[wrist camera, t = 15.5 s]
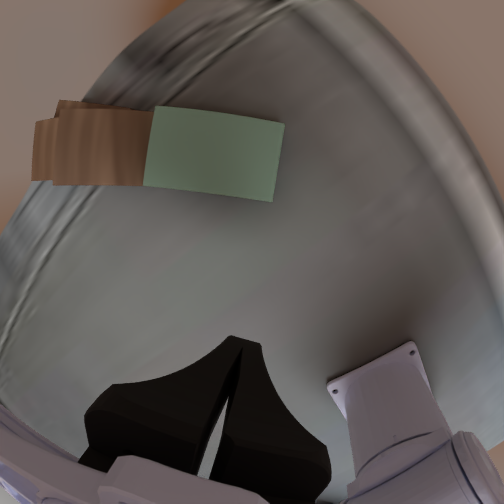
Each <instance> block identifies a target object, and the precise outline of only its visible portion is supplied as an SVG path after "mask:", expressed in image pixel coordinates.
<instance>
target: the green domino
mask: <svg viewBox="0 0 504 504" xmlns="http://www.w3.org/2000/svg"><path fill="white" fill-rule="evenodd" d="M284 128H285V124H283V123H278V122H273V121H268V120H263V119H258V118H252V117H246V116H240V115H234V114H227V113H220V112H213V111H205V110H197V109H188V108H178V107H167V106H155V110H154V116H153V121H152V126H151V132H150V138H149V144H148V151H147V157H146V164H145V172H144V179H143V186H151V187H160V188H169V189H178V190H186V191H194V192H202V193H210V194H218V195H225V196H232V197H239V198H246V199H253V200H260V201H266V202H272V201H273V195H274V189H275V183H276V177H277V171H278V165H279V159H280V152H281V146H282V140H283V134H284Z"/></svg>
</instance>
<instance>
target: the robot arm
mask: <svg viewBox="0 0 504 504" xmlns="http://www.w3.org/2000/svg"><path fill="white" fill-rule="evenodd" d="M412 350H414V351H413V352H412V353H410V352H411V351H412ZM334 389H337V391H333V390H334ZM327 390H328V392H329V393H330V395H331V397H332V398H333V400H334V401H335V403H336V404H337V406H338V408H339V409H340V411H341V412H342V414H343V416H344V417H345V419H346V420H347V423H348V429H349V435H350V441H351V448H352V455H353V462H354V469H355V476H356V479H355V480H354V481H353V482H352V483H350V484H348V485H347V492H348V499H345V500H343V501H341V502H340V503H339V504H504V485H503V482H502V479H501V477H500V475H499V473H498V471H497V469H496V467H495V465H494V463H493V462H492V460H491V458H490V457H489V455H488V453H487V452H486V450H485V448H484V447H483V445H482V444H481V443H480V441H479V440H478V438H477V437H476V436H475V435H474V434H473V433H472V432H463V431H458V432H457V433H456V434H455V435H454V436H453V434H452V432H451V430H450V428H449V426H448V424H447V422H446V420H445V418H444V416H443V414H442V412H441V410H440V408H439V406H438V404H437V402H436V401H435V399H434V397H433V394H432V391H431V388H430V385H429V382H428V379H427V375H426V372H425V369H424V366H423V364H422V361H421V358H420V355H419V352H418V349H417V347H416V344H415V343H414V342H413V341H409V342H407V343H405V344H403V345H402V346H400V347H398V348H396V349H394V350H393V351H391V352H389V353H387V354H385V355H383V356H381V357H379V358H378V359H376V360H374V361H372V362H370V363H368V364H366V365H364V366H362V367H360V368H358V369H356V370H353V371H351V372H349V373H347V374H345V375H343V376H341V377H338V378H336V379H334V380H332V381H330V382H328V383H327ZM228 396H229V398H228ZM227 399H228V403H227V408H226V414H225V419H224V425H223V430H222V436H221V440H220V444H219V447H218V451H217V454H216V457H215V460H214V464H213V467H212V470H211V473H210V477H209V479H205V478H202V477H198V476H197V474H198V471H199V468H200V465H201V462H202V459H203V456H204V453H205V450H206V447H207V444H208V441H209V439H210V436H211V434H212V432H213V429H214V427H215V425H216V423H217V421H218V419H219V416H220V414H221V412H222V410H223V408H224V405H225V403H226V401H227ZM84 423H85V428H86V433H87V438H88V443H89V447H88V448H87V450H86V451H85V452H84V454H83V455H82V456H81V458H80V459H79V458H77V457H75V456H74V455H72V454H70V453H69V452H67V451H65V450H64V449H62V448H60V447H59V446H57V445H56V444H54V443H52V442H51V441H49V440H48V439H46V438H45V437H43V436H42V435H40V434H39V433H38V432H36V431H35V430H33V429H32V428H30V427H29V426H28V425H26V424H25V423H24V422H22V421H21V420H20V419H18V418H17V417H16V416H14V415H13V414H12V413H11V412H9V411H8V410H7V409H6V408H5V407H3V406H2V405H1V404H0V486H1V487H2V488H3V489H4V490H6V491H7V492H8V493H9V494H10V495H11V496H12V497H14V498H15V499H16V500H17V501H18V502H19V503H21V504H315V500H316V499H317V497H318V496H319V495H320V494H321V493H322V492H323V491H324V489H325V488H326V487H327V486H328V484H329V483H330V481H331V463H330V458H329V454H328V450H327V447H326V445H324V444H323V443H322V442H320V441H319V440H318V439H317V438H315V437H314V436H313V435H312V434H310V433H309V432H308V431H307V430H306V429H305V428H304V427H303V426H302V425H301V424H300V423H299V422H298V421H297V420H296V419H295V418H294V416H293V415H292V414H291V413H290V412H289V410H288V409H287V408H286V406H285V405H284V403H283V402H282V400H281V399H280V397H279V395H278V393H277V392H276V390H275V388H274V386H273V383H272V381H271V379H270V376H269V374H268V371H267V368H266V365H265V362H264V358H263V354H262V346H261V345H260V343H257V342H253V341H250V340H246V339H242V338H239V337H235V336H232V335H230V336H228V337H227V338H226V339H225V340H224V341H223V342H222V343H221V344H220V345H219V346H217V347H216V348H215V349H214V350H212V351H211V352H210V353H208V354H207V355H206V356H204V357H203V358H201V359H200V360H198V361H196V362H195V363H193V364H191V365H189V366H188V367H186V368H184V369H181V370H179V371H177V372H175V373H172V374H169V375H166V376H163V377H160V378H156V379H152V380H147V381H142V382H135V383H124V384H112V385H111V386H110V387H109V388H108V389H107V390H105V391H104V392H103V393H102V394H101V395H100V396H99V397H98V398H97V399H96V400H95V402H94V403H93V404H92V405H91V406H90V407H89V409H88V410H87V411H86V413H85V415H84Z"/></svg>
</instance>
